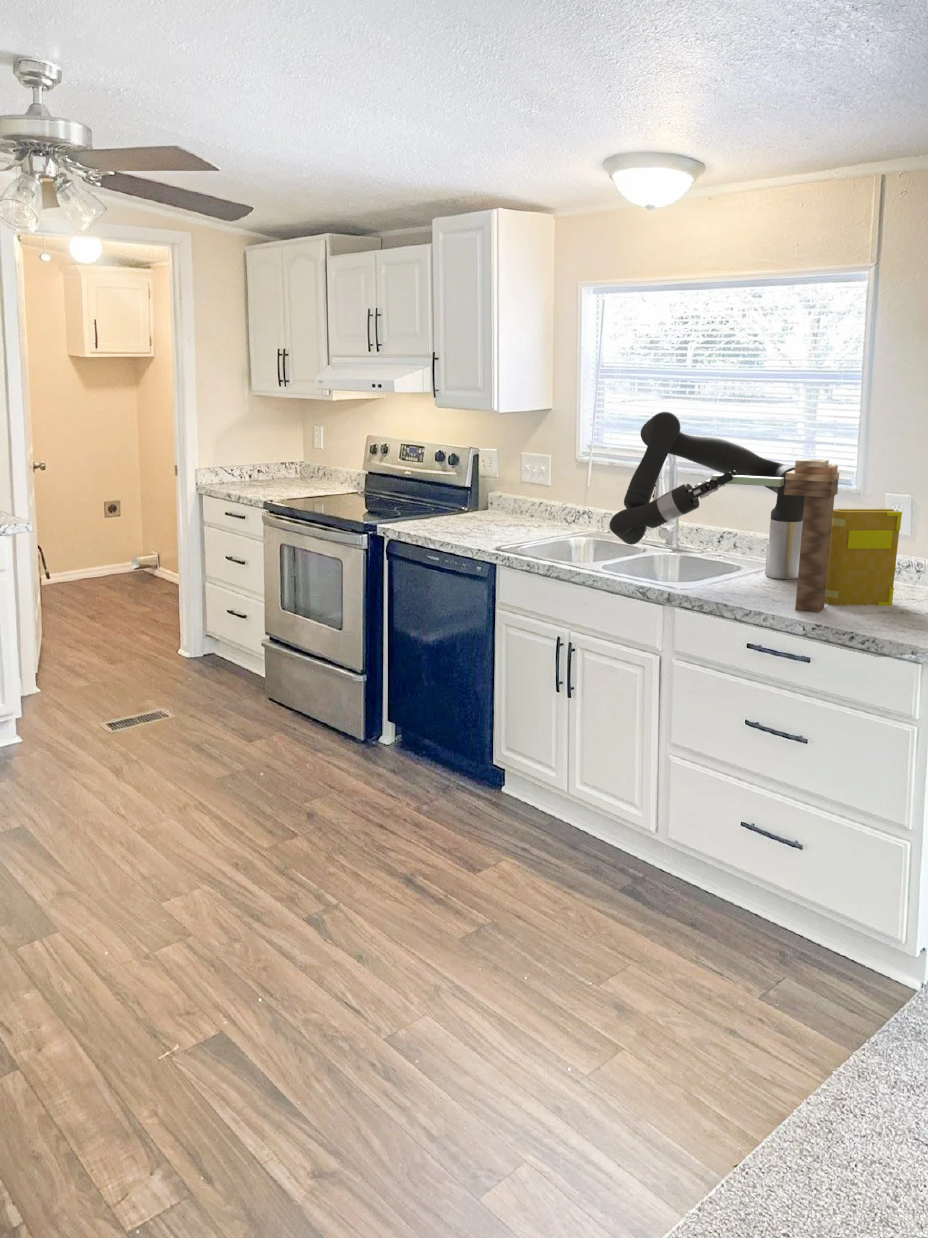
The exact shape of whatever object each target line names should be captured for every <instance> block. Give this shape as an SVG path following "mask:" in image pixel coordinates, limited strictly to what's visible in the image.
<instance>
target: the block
mask: <svg viewBox="0 0 928 1238" xmlns="http://www.w3.org/2000/svg"><path fill="white" fill-rule="evenodd" d="M722 475H724V473H722V474H721V473H720V474H719V473H715V474H712V475H711V477H710V479H711V480H712V479H714V478H718V477H720V476H722ZM732 476H733V480H731V481H729V482H727V483H725V484H726V485H738V486H739V485H740V486H757V487H758V486H759V487H760V486H761V487H764V486H774V487H781V486H783V484H784V478H782V477H762V476H743V475H732Z"/></svg>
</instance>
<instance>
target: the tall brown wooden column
mask: <svg viewBox="0 0 928 1238" xmlns="http://www.w3.org/2000/svg"><path fill="white" fill-rule="evenodd" d="M829 462H830V461H829V459H816V458H814V459H813V458H798V459H796V460H795V461H794V466H795V470H792V471H789V472H787V473H786V475H785V479H786V480H785V489H784V495H797V496H805V499H804V511H803V523H802V535H801V547H800V558H799V570H798V578H797V584H796V595H795V596H796V597H795V598H796V599H795V607H794V610H795V611H798V612H806V613H814V614H816V613H817V614H820V613H821V612H822V611H823V609H825V606H826V605H825V604H826V603H825V594H826V583H827V572H828V561H829V550H830V539H831V528H832V517H833V509H834V505H835V502H834V501H835V496H836V495H838V494H839V493H838V491H839V489H838V486H839V479H840V472H838V467H839V465H838V464H829Z"/></svg>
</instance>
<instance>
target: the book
mask: <svg viewBox="0 0 928 1238" xmlns="http://www.w3.org/2000/svg"><path fill="white" fill-rule="evenodd" d="M902 515H903V512H902V511H900V510H899V511H898V510H895V509H894V508H833V517H832V528H831V539H830V550H829V561H828V572H827V583H826V594H825V604H826V605H832V606H882V607H884V606H887V607H888V606H889V607H890V606H893V597H894V589H895V588H894V582H895V574H896V564H897V563H896V562H897V555H898V544H899V535H900V531H901V525H902V523H901V522H902Z"/></svg>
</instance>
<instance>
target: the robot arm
mask: <svg viewBox="0 0 928 1238" xmlns="http://www.w3.org/2000/svg"><path fill="white" fill-rule="evenodd" d="M640 437H641V440H642V443H644V445H645V446H646V449H645V453H644V454H643V457H642V459H641V461H640V462H639V464H638V466H637V468H636V470H635V471H634V473H633V475H632V477H631V479H630V482H629V485H628V487H627V491H626V493H625V496H624V499H623V505H624V508H625V509H623V510H620V511H619V512H616V513H615V514H614V515H613V516H612V517H611V519H610V521H609V529H610V531H611V532H612V533H613V534H614V535H616V537H618V538H619V539H620V540H622V542H624V543H625V544H627V545H631V546H632V545H636V544H637V543H639V542H640V541H641V540H642V539H643V537H644V535H645V533H646V530H647V527H648V528H650V529H655V528H657V527H660V526H662V525H664V524H666V523H669V522H671V521H673V520H676V519H679V518H681V517H682V516H684V515H687V514H689V513H690V512H693V511H695V510H697V509H698V508H699V507H700V500H701V499H705V498H707V497H709V496H710V494H713V493H715V492H716V491H719V489H720V488H721V487H725V486H726V485H727V484H725V483H727V482H729V481H731V480H733V476H732V475H743V476H762V477H782V478H784V484H783V486H781V487H774V486H763V487H764V488H766V489H768V490H771V491H772V492H774V493H776V494H777V496H776V504H775V507H774V508H772V509H771V511H770V523H769V536H768V537H769V538H768V543H767V544H766V555H765V558H766V559H765V572H764V574H765V575H766V577H769V578H772V579H778V580H793V579H794V580H795V579H798V570H799V558H800V547H801V535H802V523H803V511H804V499H805V496H797V495H784V489H785V480H786V479H785V475H786V473H787V472H789V471H792V470H795V465H793V464H786V463H782V462H781V463H780V462H776V461H772V460H770V459H766V458H763V457H761V456H759V455H758V454H756V453H754V452H753V451H751V450H749V449H747V448H746V447H744V446H742V445H740V444H737V443H735V442H732V441H730V440H727V439H724V438H721V437H717V436H708V435H693V434H689V433H686V432H683V431H681V423H680V420H679V418H678V416H676V415H675V414H674V413H672V412H670V411H661V412H659V413H656V414H655V415H653V416H652V417H651V418H649V420H647V421H646V422H645V423H644V424H643V426H642V427H641V429H640ZM668 455H673V456H677V457H679V458H683V459H686V460H688V461H691V462H692V463H696V464H699V465H701V466H703V467H707V468H709V469H711V470H714V471H716V472H719V473H720V474H721V473H722V474H723V475H722V476H720V477H718V478H714V479H712V480H711V478H709V479H708V480H705V481H703V482H699V483H697V484H695V485H694V487H693V486H692V485H691V484H690V483H688V482H686V483H684V484H681V485H679V486H677V487H675V488H673V489H672V490H670V491H667V492H665V493H664V494H663V495H660V496H659V497H657V498H656V499H654V500H652V501H651V498H652V496H653V493H654V491H655V490H654V489H655V488H656V484H657V481H658V478H659V476H660V473H661V471H662V468H663V467H664V464H665V462H666V459H667V457H668ZM699 499H700V500H699Z"/></svg>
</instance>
